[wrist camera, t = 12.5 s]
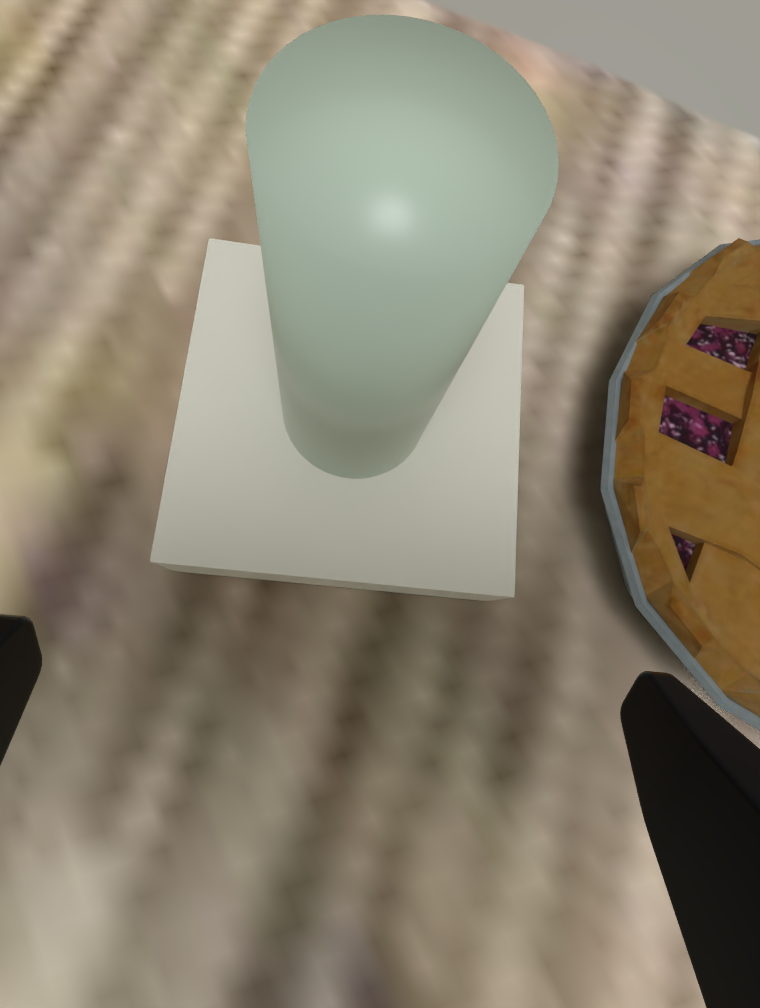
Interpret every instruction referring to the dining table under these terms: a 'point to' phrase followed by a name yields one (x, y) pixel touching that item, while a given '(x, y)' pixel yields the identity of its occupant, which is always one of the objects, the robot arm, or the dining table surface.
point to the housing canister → (387, 222)
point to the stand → (325, 497)
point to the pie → (694, 471)
